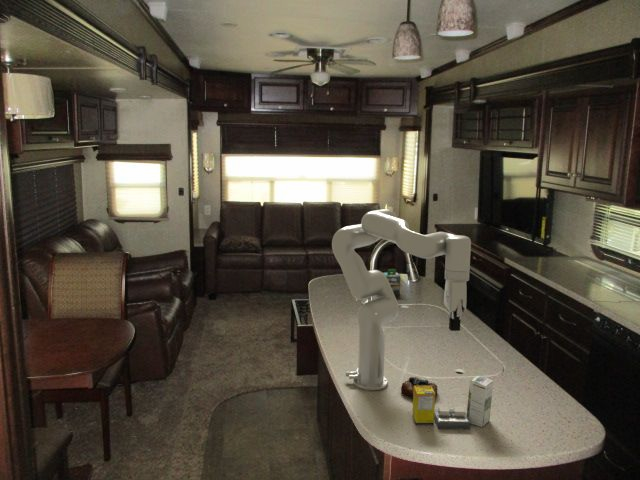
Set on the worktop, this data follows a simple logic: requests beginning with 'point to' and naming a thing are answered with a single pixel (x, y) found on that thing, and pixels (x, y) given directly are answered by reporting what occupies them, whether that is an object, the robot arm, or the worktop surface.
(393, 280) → the chalk box
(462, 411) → the breaker paddles
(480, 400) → the syrup box
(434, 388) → the pastry
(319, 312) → the worktop surface
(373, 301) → the robot arm
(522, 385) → the worktop surface
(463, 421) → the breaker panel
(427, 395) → the supplement box
